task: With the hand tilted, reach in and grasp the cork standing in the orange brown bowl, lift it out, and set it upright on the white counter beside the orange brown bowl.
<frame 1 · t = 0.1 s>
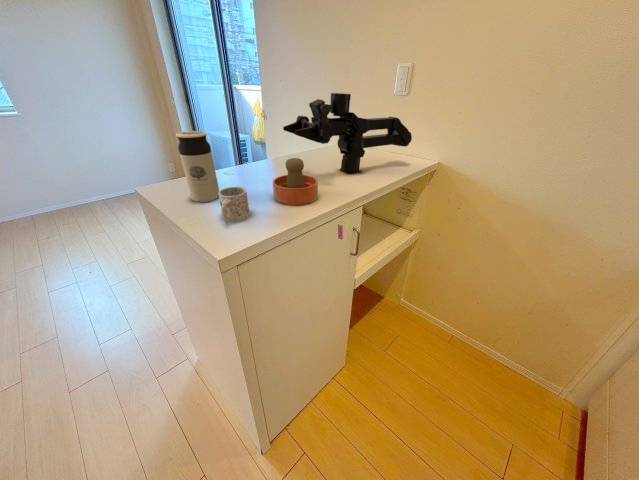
hand: (289, 130, 82), 17 cm above the table, tool horizontal, fingers open, 9 cm apart
cork: (295, 196, 78), resting in orange brown bowl
travel mug: (206, 197, 77), on the table
orange brown bowl: (295, 196, 78), on the table
mug: (234, 219, 65), on the table
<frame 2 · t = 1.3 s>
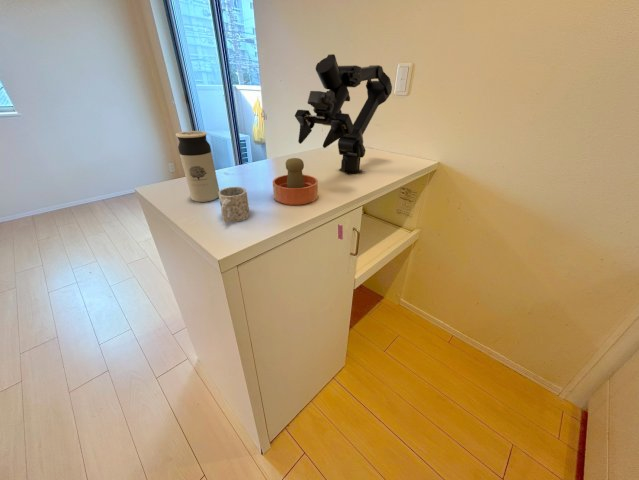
hand: (311, 144, 77), 14 cm above the table, tool tilted 45°, fingers open, 9 cm apart
nothing on the table moved.
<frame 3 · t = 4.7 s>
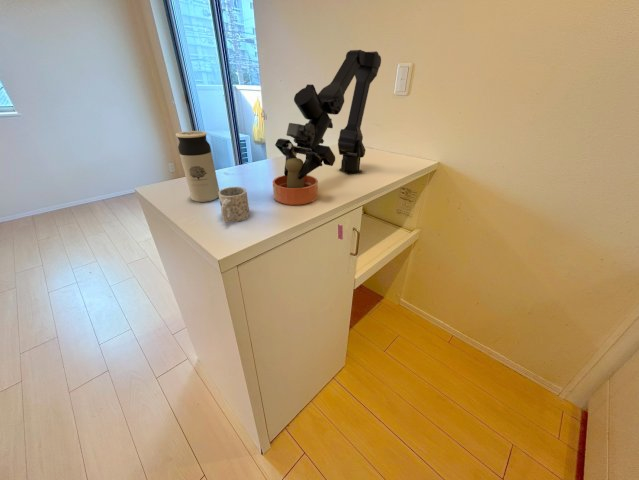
hand: (291, 176, 74), 7 cm above the table, tool tilted 45°, fingers closed on cork, 5 cm apart
cork: (295, 196, 78), resting in orange brown bowl, touching gripper
everything else where it was.
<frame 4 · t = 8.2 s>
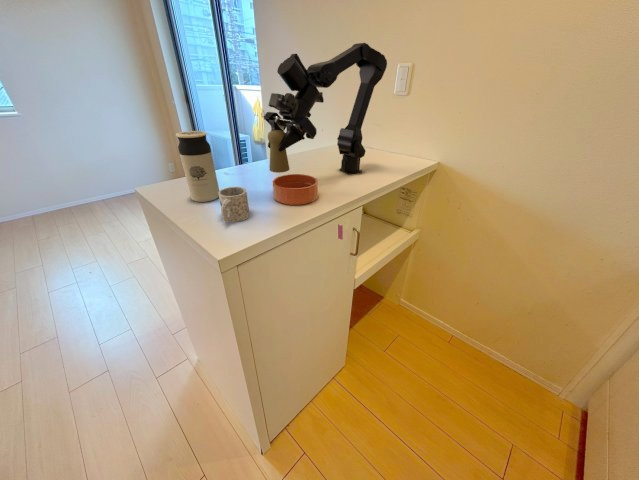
hand: (273, 149, 74), 13 cm above the table, tool tilted 45°, fingers closed on cork, 5 cm apart
cork: (279, 170, 78), point 7 cm above the table, touching gripper
everything else where it was.
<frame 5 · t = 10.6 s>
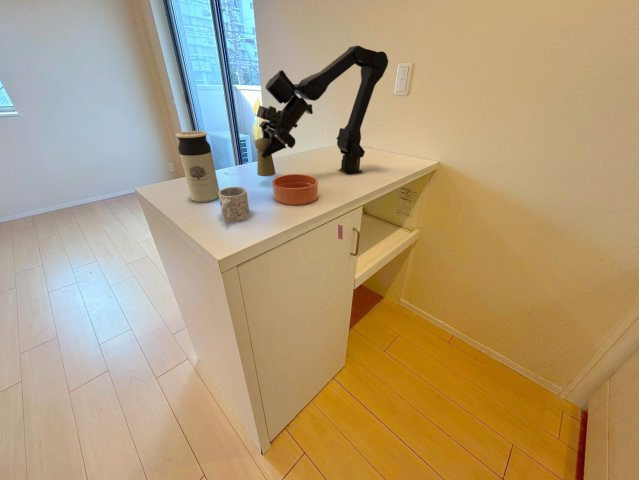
hand: (260, 155, 82), 10 cm above the table, tool tilted 45°, fingers closed on cork, 5 cm apart
cork: (266, 174, 86), point 3 cm above the table, touching gripper
everything else where it was.
when the fingers open (6 cm above the table, at t = 12.1 s): cork stays where it is, on the table.
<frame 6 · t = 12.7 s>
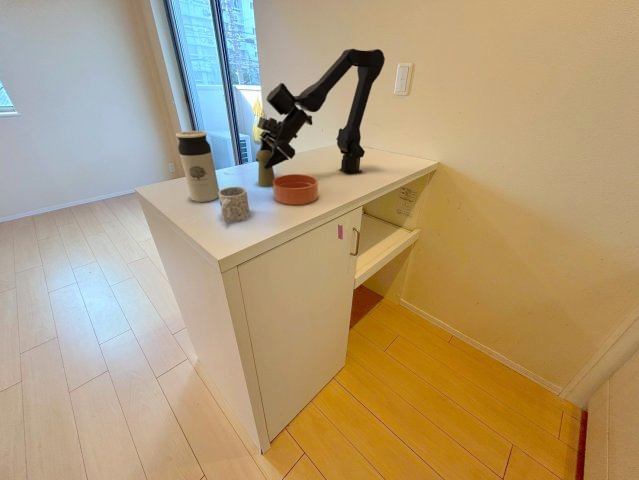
hand: (260, 164, 83), 7 cm above the table, tool tilted 45°, fingers open, 9 cm apart
cork: (267, 184, 88), on the table
everything else where it was.
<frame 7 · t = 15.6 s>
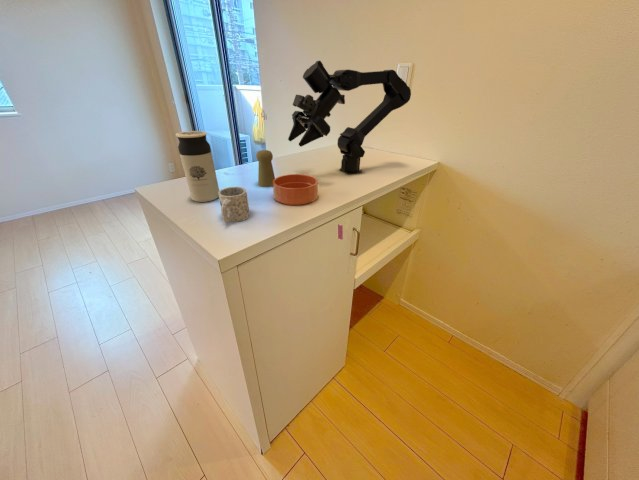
hand: (294, 142, 85), 13 cm above the table, tool tilted 45°, fingers open, 9 cm apart
nothing on the table moved.
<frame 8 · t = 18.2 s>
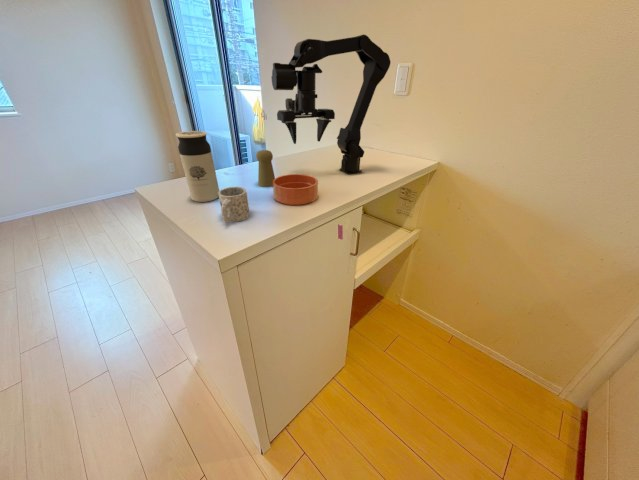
hand: (306, 142, 89), 12 cm above the table, tool pointing down, fingers open, 9 cm apart
nothing on the table moved.
at the end: cork inside the target area (0.1 cm from its centre), on the table; cork tilted 0°; the gripper is holding nothing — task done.
